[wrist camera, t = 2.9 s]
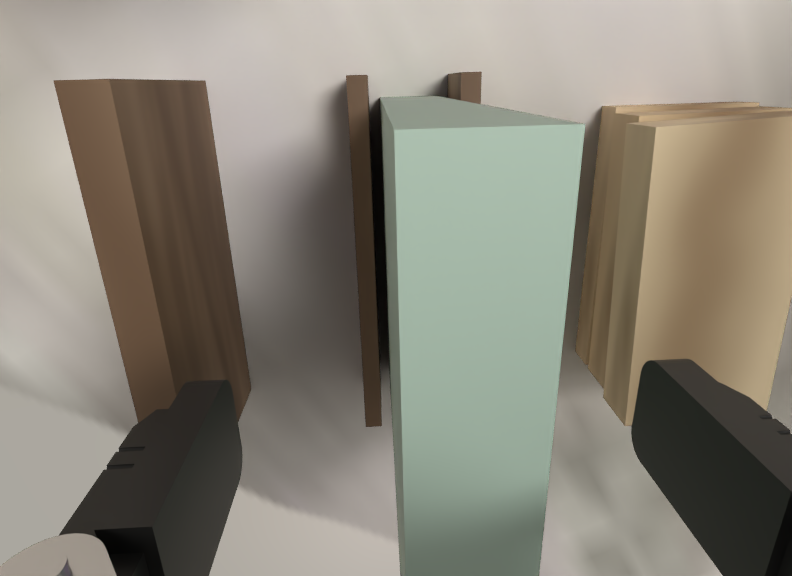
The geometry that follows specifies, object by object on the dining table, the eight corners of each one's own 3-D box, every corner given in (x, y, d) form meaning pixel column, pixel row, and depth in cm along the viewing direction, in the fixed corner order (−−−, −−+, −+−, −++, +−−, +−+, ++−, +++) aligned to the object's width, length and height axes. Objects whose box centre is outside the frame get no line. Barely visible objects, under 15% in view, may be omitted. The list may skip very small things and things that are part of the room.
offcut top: (783, 110, 16) (832, 112, 15) (732, 386, 20) (766, 413, 18) (626, 123, 16) (656, 127, 15) (603, 397, 20) (625, 426, 18)
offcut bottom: (726, 101, 20) (759, 102, 18) (680, 339, 23) (704, 359, 22) (594, 105, 19) (616, 107, 18) (570, 344, 23) (585, 364, 21)
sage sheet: (436, 95, 18) (585, 124, 5) (435, 366, 22) (520, 756, 9) (379, 97, 18) (394, 130, 5) (389, 368, 22) (410, 763, 9)
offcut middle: (757, 106, 18) (796, 108, 16) (707, 361, 22) (735, 384, 20) (614, 113, 18) (639, 115, 16) (588, 368, 21) (606, 392, 20)
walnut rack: (464, 73, 18) (515, 67, 12) (458, 380, 23) (492, 499, 16) (169, 81, 18) (53, 80, 11) (223, 390, 22) (161, 516, 16)
